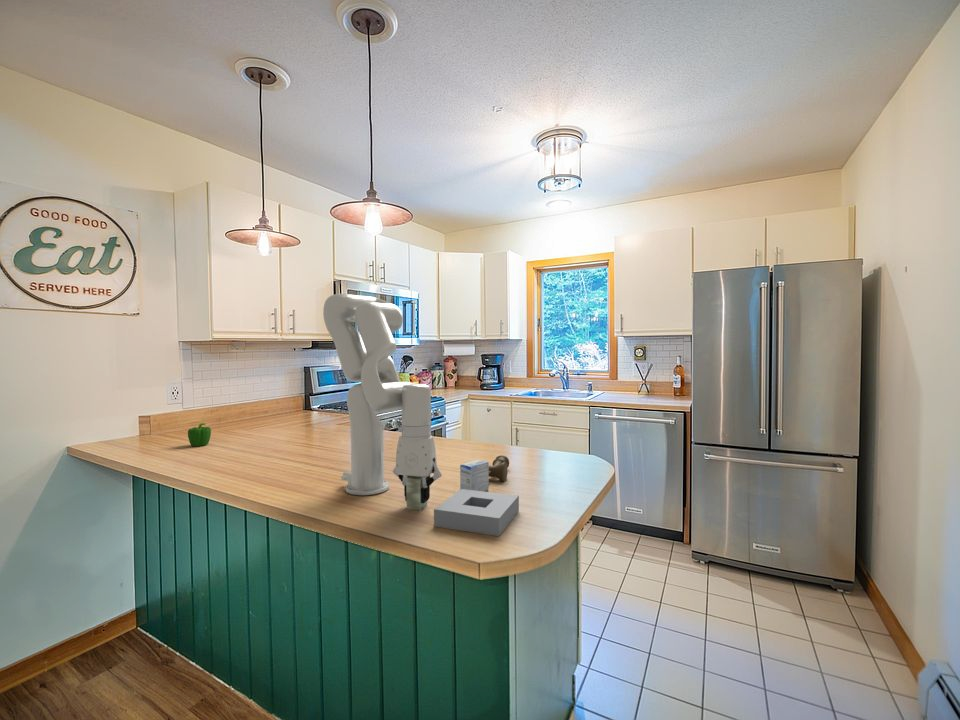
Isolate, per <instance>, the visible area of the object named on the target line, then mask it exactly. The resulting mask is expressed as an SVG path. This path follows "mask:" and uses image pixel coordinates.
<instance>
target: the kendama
mask: <svg viewBox="0 0 960 720" xmlns="http://www.w3.org/2000/svg"><path fill="white" fill-rule="evenodd" d="M509 466H510V460H509V458H508V456H506V455H498V456H496V457H495V459H494V460H493V461H492V465H489V478H490V477H494V478H497V479H498V480H499V481H501V482H503V481H504V482H506V481H507V479H508V468H509ZM505 480H506V481H505Z"/></svg>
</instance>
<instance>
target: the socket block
mask: <svg viewBox="0 0 960 720" xmlns="http://www.w3.org/2000/svg"><path fill="white" fill-rule="evenodd" d="M519 498H520V495H515V494H508V493H501V492H491V491H485V492H483V491H475V490H466V489H460V488H459V490H458V491H456V492H454V494H453V495H451V496H450V497H448V498H447V499H445V500H444V501H443V502H441V504H439V505H438V506H436V507H434V509H433V526H434V527H437V528H444V529H451V530H457V531H464V532H469V533H476V534H483V535H489V536H496V537H500V536H501V534H502V533H503V532H504V531H505V529H506V528H508V526H509V525H510V523H511V522H512V521H513V520H514V518H515V517H516V516H517V514H518V513H519V512H520V504H519V503H520V501H519V500H520V499H519Z"/></svg>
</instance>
